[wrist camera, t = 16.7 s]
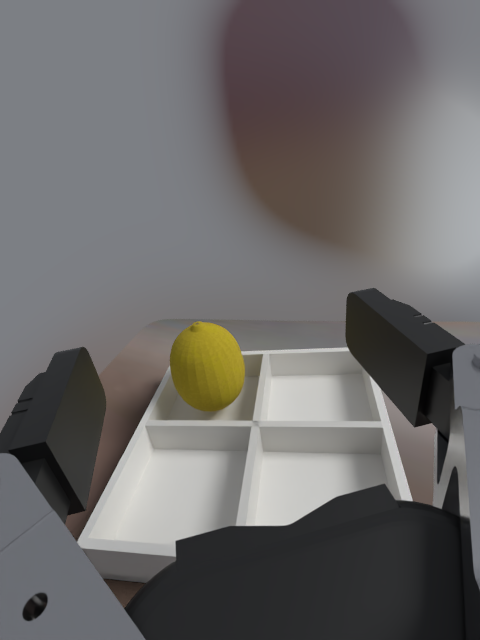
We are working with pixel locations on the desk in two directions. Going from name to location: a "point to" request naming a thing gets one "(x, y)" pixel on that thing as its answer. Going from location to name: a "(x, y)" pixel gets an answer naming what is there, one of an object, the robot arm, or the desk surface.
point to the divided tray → (243, 459)
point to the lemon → (207, 367)
